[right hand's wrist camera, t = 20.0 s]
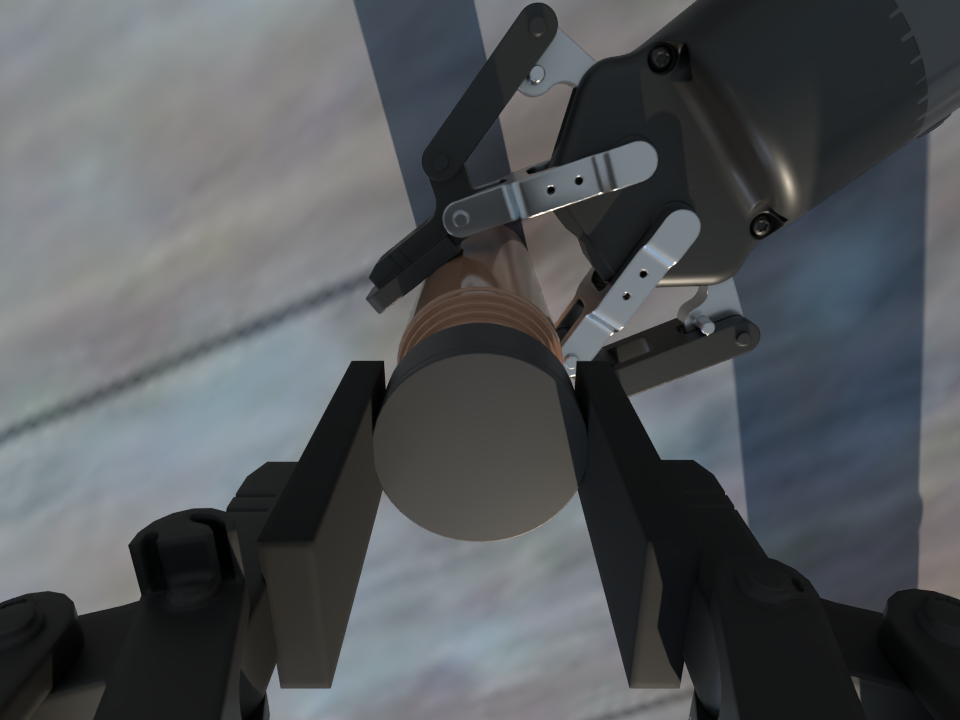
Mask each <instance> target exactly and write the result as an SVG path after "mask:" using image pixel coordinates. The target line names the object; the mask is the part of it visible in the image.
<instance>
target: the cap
mask: <svg viewBox="0 0 960 720" xmlns="http://www.w3.org/2000/svg"><path fill="white" fill-rule="evenodd" d="M587 440H588V431H587V426H586V423H585V420H584V417H583V414H582V411H581V408H580V405H579V402H578V400H577V397H576V394H575V391H574V388H573V385H572V382H571V380H570V377H569V375H568V373H567V371H566V369H565V368H564V366H563V365H562V363H561V362H560V361H559V359H558V358H557V357H556V356H555V355H554V354H553V352H552V351H551V350H550V349H549V348H547V347H546V346H545V345H544V344H542V343H541V342H540V341H538V340H537V339H535V338H533V337H532V336H530V335H528V334H526V333H524V332H522V331H519V330H517V329H514V328H511V327H507V326H504V325H498V324H491V323H471V324H462V325H458V326H453V327H449V328H447V329H444V330H441V331H438V332H436V333H434V334H432V335H430V336H428V337H427V338H425V339H424V340H422V341H421V342H419V343H418V344H416V345H415V346H414V347H413V348H412V349H411V350H410V351H409V352H408V353H407V354H406V355H405V356H404V357H403V359H402V360H401V361H400V362H399V364H398V365H397V367H396V368H395V370H394V372H393V374H392V376H391V378H390V381H389V383H388V386H387V389H386V391H385V394H384V397H383V400H382V403H381V406H380V409H379V412H378V415H377V417H376V421H375V424H374V428H373V449H374V462H375V472H376V475H377V478H378V481H379V483H380V485H381V486H382V488H383V490H384V492H385V494H386V495H387V496H388V498H389V499H390V501H391V502H392V503H393V504H394V505H395V506H396V507H397V509H398V510H399V511H400V512H401V513H403V514H404V515H405V516H406V517H407V518H409V519H410V520H411V521H413V522H414V523H416V524H417V525H419V526H420V527H422V528H424V529H426V530H428V531H430V532H433V533H435V534H438V535H441V536H444V537H447V538H451V539H455V540H461V541H469V542H491V541H499V540H505V539H510V538H513V537H516V536H520V535H523V534H525V533H527V532H530V531H532V530H534V529H536V528H538V527H540V526H541V525H543V524H545V523H546V522H548V521H549V520H550V519H552V518H553V517H554V516H556V515H557V514H558V513H559V512H560V511H561V510H562V509H563V508H564V507H565V506H566V505H567V503H568V502H569V501H570V500H571V498H572V497H573V496H574V494H575V492H576V491H577V489H578V487H579V486H580V483H581V481H582V479H583V476H584V474H585V467H586V454H587Z"/></svg>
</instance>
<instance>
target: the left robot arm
mask: <svg viewBox="0 0 960 720" xmlns="http://www.w3.org/2000/svg"><path fill="white" fill-rule="evenodd" d="M560 83H561V84H567V85H569V86H571V87H572V88H573V91H572V94H571V97H570V100H569V103H568V106H567V110H566V113H565V116H564V119H563V122H562V125H561V129H560V132H559V135H558V138H557V141H556V144H555V148H554V151H553V154H552V157H551V159H549V160H546V161H543V162H540V163H538V164H535V165H532V166H529V167H526V168H523V169H520V170H518V171H515V172H512V173H509V174H507V175H505V176H503V177H501V178H499V179H496V180H493V181H490V182H487V183H484V184H481V185H479V186H476V187H473V186H472V183H471V180H470V177H469V174H468V171H467V167H466V164H465V161H466V160H467V159H468V157H469V156H470V154H471V153H472V152H473V150H474V149H475V147H476V146H477V145H478V143H479V142H480V141H481V139H482V138H483V136H484V135H485V134H486V132H487V131H488V129H489V128H490V127H491V125H492V124H493V123H494V121H495V120H496V118H497V117H498V116H499V114H500V113H501V112H502V110H503V109H504V107H505V106H506V105H507V103H508V102H509V100H510V99H511V98H512V96H513V95H514V94H515V92H516V91H517V90H518V91H519V92H520V93H522V94H523V95H525V96H527V97H537V96H540V95H542V94H544V93H546V92H547V91H548V90H549V89H550V88H551V87H552V86H553V85H555V84H560ZM958 108H960V0H697V1H696V2H694V3H693V4H692V5H691V6H689V7H688V8H687V9H686V10H684V11H683V12H682V13H681V14H679V15H678V16H677V17H676V18H675V19H673V20H672V21H671V22H670V23H668V24H667V25H666V26H665V27H663V28H662V29H661V30H660V31H658V32H657V33H656V34H655V35H653V36H652V37H651V38H650V39H649V40H647V41H646V42H645V43H644V44H642V45H641V46H640V47H638V48H637V49H635V50H634V51H633V52H631V53H628V54H625V55H621V56H616V57H609V58H605V59H603V60H600V61H598V62H596V61H595V60H594V59H593V58H592V57H591V56H590V55H589V54H587V53H586V52H585V51H584V50H583V49H582V48H581V47H580V46H579V45H578V44H576V43H575V42H574V41H573V40H572V39H571V38H570V37H569V36H568V35H567V34H565V33H564V32H563V31H562V30H561V29H560V28H559V27H558V21H557V17H556V14H555V13H554V11H553V10H552V9H551V8H550V7H549V6H548V5H546V4H544V3H532V4H530V5H528V6H526V7H525V8H524V9H523V10H522V12H521V13H520V14H519V16H518V17H517V19H516V20H515V22H514V23H513V25H512V26H511V27H510V29H509V30H508V32H507V33H506V35H505V36H504V37H503V39H502V40H501V42H500V43H499V45H498V46H497V48H496V49H495V50H494V52H493V53H492V55H491V56H490V58H489V59H488V60H487V62H486V63H485V65H484V66H483V68H482V69H481V71H480V72H479V73H478V75H477V76H476V78H475V79H474V81H473V82H472V83H471V85H470V86H469V88H468V89H467V91H466V92H465V94H464V95H463V96H462V98H461V99H460V101H459V102H458V104H457V105H456V106H455V108H454V109H453V111H452V112H451V114H450V115H449V117H448V118H447V119H446V121H445V122H444V124H443V125H442V127H441V128H440V129H439V131H438V132H437V134H436V135H435V137H434V138H433V140H432V141H431V142H430V144H429V145H428V147H427V148H426V150H425V151H424V153H423V157H422V166H423V169H424V171H425V173H426V174H427V175H428V176H429V179H430V182H431V185H432V188H433V191H434V194H435V197H436V202H437V205H436V211H435V213H434V214H433V215H432V216H431V217H430V218H428V219H427V220H426V221H425V222H423V223H422V224H421V225H420V226H418V227H417V228H416V229H415V230H413V231H412V232H411V233H410V234H409V235H407V236H406V237H405V238H404V239H403V240H401V241H400V242H399V243H397V244H396V245H395V246H394V247H392V248H391V249H390V250H389V251H388V252H386V253H385V254H384V255H383V256H382V257H381V258H380V259H379V261H378V262H377V264H376V265H375V267H374V269H373V271H372V273H371V275H370V277H369V279H370V280H371V281H372V282H373V283H374V284H375V286H374V287H373V288H372V290H371V291H370V293H369V294H368V296H367V298H366V300H367V301H368V302H369V303H370V305H371V306H372V307H373V308H374V309H375V310H376V311H377V312H378V314H380V313H382V312H384V311H385V310H386V309H388V308H389V307H390V306H392V305H393V304H394V303H395V302H397V301H398V300H399V299H401V298H402V297H403V296H404V295H406V294H407V293H408V292H410V291H411V290H412V289H413V288H415V287H416V286H417V285H419V284H420V283H421V282H422V281H424V280H425V279H426V278H428V277H429V276H430V275H431V274H432V273H433V272H435V271H436V270H437V269H438V268H440V267H441V266H443V265H444V264H445V263H447V262H448V261H449V260H451V259H452V258H453V257H454V256H456V255H457V254H458V253H460V247H461V242H462V241H463V240H465V239H466V238H467V237H469V236H471V235H474V234H477V233H480V232H483V231H486V230H489V229H492V228H494V227H497V226H500V225H503V224H506V223H509V222H512V221H517V220H525V219H529V218H532V217H535V216H538V215H541V214H544V213H547V212H550V211H553V212H554V213H555V215H556V216H557V217H558V219H559V220H560V221H561V223H562V224H563V225H564V226H565V228H566V229H568V230H569V231H570V232H571V233H573V234H574V235H575V236H576V237H577V238H578V240H579V243H580V246H581V249H582V251H583V254H584V255H585V256H586V258H587V259H588V261H589V262H590V263H591V265H592V268H591V269H590V271H589V272H588V273H587V275H586V276H585V277H584V279H583V280H582V282H581V283H580V285H579V287H578V289H577V292H576V295H575V297H574V299H573V300H572V301H571V303H570V304H569V306H568V307H567V308H566V310H565V311H564V312H563V314H562V315H561V317H560V318H559V319H558V321H557V322H556V323H555V325H554V326H555V329H556V332H557V335H558V338H559V341H560V344H561V348H562V355H563V366H564V368H565V369H566V371H567V373H568V375H569V377H570V379H575V377H576V361H609V363H610V365H611V366H612V368H613V370H614V372H615V374H616V376H617V378H618V380H619V382H620V383H621V385H622V387H623V389H624V391H625V393H626V395H627V397H631V396H633V395H636V394H639V393H641V392H644V391H647V390H649V389H652V388H655V387H657V386H660V385H663V384H665V383H668V382H670V381H673V380H676V379H678V378H681V377H684V376H686V375H689V374H692V373H694V372H697V371H700V370H702V369H705V368H708V367H710V366H713V365H716V364H718V363H721V362H724V361H726V360H729V359H732V358H734V357H737V356H740V355H742V354H745V353H747V352H750V351H751V350H753V349H754V348H755V347H756V346H757V344H758V342H759V340H760V331H759V329H758V327H757V326H756V325H755V324H753V323H752V322H751V321H749V320H748V319H747V318H745V317H744V315H743V312H742V308H741V304H740V301H739V297H738V294H737V290H736V287H735V283H734V280H733V276H734V275H735V274H736V273H737V272H738V271H739V269H740V268H741V266H742V265H743V263H744V261H745V259H746V258H747V256H748V255H749V253H750V252H751V251H752V249H753V248H754V247H755V246H756V245H757V244H758V243H759V242H760V241H761V240H763V239H764V238H766V237H767V236H769V235H771V234H773V233H775V232H776V231H778V230H780V229H782V228H784V227H785V226H787V225H789V224H790V223H792V222H794V221H795V220H797V219H798V218H799V217H801V216H802V215H804V214H805V213H807V212H808V211H810V210H811V209H813V208H814V207H815V206H817V205H818V204H820V203H821V202H823V201H824V200H826V199H827V198H829V197H830V196H831V195H833V194H834V193H836V192H837V191H839V190H840V189H842V188H843V187H845V186H846V185H847V184H849V183H850V182H852V181H853V180H855V179H856V178H858V177H859V176H860V175H862V174H863V173H865V172H866V171H868V170H869V169H871V168H872V167H874V166H875V165H877V164H878V163H880V162H881V161H883V160H884V159H885V158H887V157H888V156H890V155H891V154H893V153H894V152H896V151H897V150H899V149H900V148H902V147H903V146H904V145H906V144H907V143H909V142H910V141H911V140H913V139H914V138H919V137H921V136H923V135H925V134H927V133H929V132H930V131H932V130H934V129H935V128H937V127H938V126H939V125H941V124H942V123H943V122H944V120H946V119H947V118H948V117H949V116H950V115H951V113H952V112H954V111H955V110H957V109H958ZM683 286H699V289H698V292H697V293H696V295H695V296H694V297H693V298H692V299H690V300H689V301H687V302H685V303H684V304H683V305H682V306H681V307H680V309H679V311H678V315H677V318H675V319H673V320H670V321H668V322H665V323H663V324H660V325H658V326H655V327H652V328H650V329H647V330H645V331H642V332H640V333H637V334H635V335H632V336H630V337H627V338H624V339H622V340H619V341H617V342H614V343H612V344H609V345H607V346H604V347H603V345H604V344H605V343H606V342H607V340H608V339H609V338H610V336H611V335H612V334H613V333H615V332H618V331H620V330H621V329H623V328H624V327H625V325H626V324H627V323H628V322H629V320H630V319H631V318H632V317H633V315H634V314H635V313H636V311H637V310H638V309H639V307H640V306H641V305H642V304H643V302H644V301H645V300H646V298H647V297H648V296H649V295H650V293H651V292H652V291H653V289H654V288H655V287H683ZM625 293H627V294H626V295H625V296H623V295H624V294H625Z"/></svg>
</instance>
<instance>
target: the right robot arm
mask: <svg viewBox="0 0 960 720" xmlns="http://www.w3.org/2000/svg"><path fill="white" fill-rule="evenodd" d="M385 391H386V386H385V370H384V361H351V363H350V365H349V367H348V369H347V371H346V373H345V375H344V377H343V378H342V380H341V382H340V384H339V386H338V388H337V390H336V392H335V394H334V395H333V397H332V399H331V401H330V403H329V405H328V407H327V409H326V411H325V412H324V414H323V416H322V418H321V420H320V422H319V424H318V426H317V428H316V429H315V431H314V433H313V435H312V437H311V439H310V441H309V443H308V445H307V446H306V448H305V450H304V452H303V454H302V456H301V458H300V460H299V462H267V463H265V464H264V465H262V466H261V467H260V468H258V469H257V470H256V471H254V472H253V473H251V474H250V475H249V476H247V478H246V479H245V481H244V482H243V484H242V485H241V487H240V488H239V490H238V491H237V493H236V497H233V499H232V501H231V502H230V504H229V505H228V507H227V510H226V512H224V511H221V510H217V509H213V508H196V509H189V510H185V511H180V512H176V513H172V514H170V515H168V516H165V517H163V518H161V519H158V520H156V521H154V522H152V523H151V524H150V525H148V526H147V527H145V528H144V529H143V530H141V531H140V532H138V533H137V535H136V536H135V537H134V539H133V540H132V541H131V542H130V544H129V545H128V546H129V550H130V554H131V557H132V561H133V565H134V569H135V572H136V576H137V580H138V584H139V587H140V591H141V595H142V596H141V598H140V601H137V602H133V603H130V604H127V605H123V606H119V607H115V608H110V609H106V610H102V611H97V612H93V613H88V614H84V615H80V616H78V615H77V612H76V608H75V605H74V602H73V601H72V600H71V599H69V598H68V597H67V596H66V595H65V594H62V593H56V592H50V591H46V592H38V593H29V594H25V595H22V596H19V597H16V598H12V599H10V600H7V601H4V602H2V603H0V720H269V717H270V712H269V705H268V699H267V693H266V689H267V686H268V684H269V681H270V678H271V676H272V673H273V670H274V668H275V665H276V663H277V669H278V675H279V681H280V687H281V688H331V685H332V681H333V678H334V674H335V670H336V666H337V662H338V658H339V655H340V651H341V647H342V643H343V639H344V636H345V632H346V628H347V624H348V620H349V617H350V613H351V609H352V605H353V601H354V597H355V594H356V590H357V586H358V582H359V578H360V575H361V571H362V567H363V563H364V559H365V555H366V552H367V548H368V544H369V540H370V536H371V533H372V529H373V525H374V521H375V517H376V513H377V510H378V506H379V502H380V498H381V494H382V491H383V488H382V486H381V485H380V483H379V481H378V478H377V475H376V472H375V462H374V449H373V428H374V424H375V421H376V417H377V415H378V412H379V409H380V406H381V403H382V400H383V397H384V394H385ZM575 394H576V397H577V400H578V402H579V405H580V408H581V411H582V414H583V417H584V420H585V423H586V426H587V431H588V440H587V454H586V467H585V474H584V476H583V479H582V481H581V483H580V486H579V487H578V493H579V497H580V501H581V504H582V508H583V512H584V516H585V520H586V523H587V527H588V531H589V535H590V539H591V543H592V546H593V550H594V554H595V558H596V562H597V565H598V569H599V573H600V577H601V581H602V585H603V588H604V592H605V596H606V600H607V604H608V607H609V611H610V615H611V619H612V623H613V626H614V630H615V634H616V638H617V642H618V646H619V649H620V653H621V657H622V661H623V665H624V668H625V672H626V676H627V680H628V684H629V688H680V683H681V677H682V671H683V665H684V661H685V664H686V666H687V669H688V672H689V674H690V677H691V680H692V682H693V685H694V693H693V699H692V704H691V710H690V715H689V720H960V600H959V599H956V598H953V597H950V596H947V595H944V594H941V593H938V592H935V591H928V590H920V589H908V590H903V591H897V592H896V593H895V594H894V595H892V596H891V597H890V598H889V599H888V601H887V604H886V607H885V610H884V613H879V612H874V611H870V610H866V609H861V608H857V607H852V606H848V605H843V604H839V603H835V602H832V601H829V600H825V599H822V598H820V597H819V595H818V593H817V592H816V590H815V589H814V587H813V586H812V584H811V583H810V581H809V580H808V579H806V578H805V577H804V576H803V575H801V574H800V573H799V572H798V571H796V570H795V569H794V568H792V567H790V566H787V565H785V564H783V563H781V562H779V561H777V560H774V559H770V558H768V557H767V555H766V554H765V552H764V551H763V549H762V548H761V546H760V545H759V543H758V542H757V540H756V539H755V537H754V535H753V534H752V532H751V531H750V529H749V528H748V526H747V525H746V523H745V522H744V520H743V519H742V517H741V516H740V514H739V513H738V511H737V510H735V509H734V505H733V503H732V502H731V500H730V499H729V497H728V496H727V495H725V491H724V490H723V488H722V487H721V485H720V484H719V482H718V481H717V479H716V478H715V476H714V475H713V474H712V473H711V472H709V471H708V470H706V469H705V468H704V467H702V466H701V465H699V464H698V463H697V462H695V461H694V460H661V459H660V457H659V455H658V453H657V451H656V449H655V448H654V446H653V444H652V442H651V440H650V438H649V436H648V434H647V432H646V431H645V429H644V427H643V425H642V423H641V421H640V419H639V417H638V415H637V414H636V412H635V410H634V408H633V406H632V404H631V402H630V400H629V398H628V397H627V395H626V393H625V391H624V389H623V387H622V385H621V383H620V382H619V380H618V378H617V376H616V374H615V372H614V370H613V368H612V366H611V365H610V363H609V361H576V377H575Z"/></svg>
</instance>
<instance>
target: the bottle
mask: <svg viewBox="0 0 960 720" xmlns="http://www.w3.org/2000/svg"><path fill="white" fill-rule="evenodd" d="M471 323H491V324H498V325H504V326H507V327H511V328H514V329H517V330H519V331H522V332H524V333H526V334H528V335H530V336H532V337H533V338H535V339H537V340H538V341H540V342H541V343H542V344H544V345H545V346H546V347H547V348H549V349H550V350H551V351H552V352H553V354H554V355H555V356H556V357H557V358H558V359H559V361H560V362H561V363H562V365H563V355H562V348H561V344H560V341H559V338H558V335H557V332H556V329H555V326H554V324H553V321H552V318H551V315H550V313H549V310H548V307H547V304H546V301H545V299H544V296H543V293H542V290H541V287H540V285H539V282H538V279H537V276H536V273H535V271H534V268H533V265H532V262H531V260H530V257H529V254H528V251H527V249H526V247H525V245H524V243H523V241H522V240H521V239H520V237H519V236H518V235H517V234H516V233H515V232H514V231H513V230H511V229H510V228H509V227H507V226H505V225H504V224H503V225H500V226H497V227H494V228H492V229H489V230H486V231H483V232H480V233H477V234H474V235H471V236H469V237H467V238H466V239H465V240H463V241H462V242H461V247H460V253H458V254H457V255H456V256H454V257H453V258H452V259H451V260H449V261H448V262H447V263H445V264H444V265H443V266H441V267H440V268H438V269H437V270H436V271H435V272H433V273H432V274H431V275H430V276H429V277H428V278H426V279H425V280H424V281H422V283H421V286H420V288H419V291H418V294H417V297H416V300H415V302H414V305H413V308H412V311H411V314H410V316H409V319H408V322H407V325H406V328H405V330H404V333H403V336H402V339H401V342H400V345H399V350H398V357H397V365H398V364H399V362H400V361H401V360H402V359H403V357H404V356H405V355H406V354H407V353H408V352H409V351H410V350H411V349H412V348H413V347H414V346H415V345H416V344H418V343H419V342H421V341H422V340H424V339H425V338H427V337H428V336H430V335H432V334H434V333H436V332H438V331H441V330H444V329H447V328H449V327H453V326H458V325H462V324H471Z"/></svg>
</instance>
